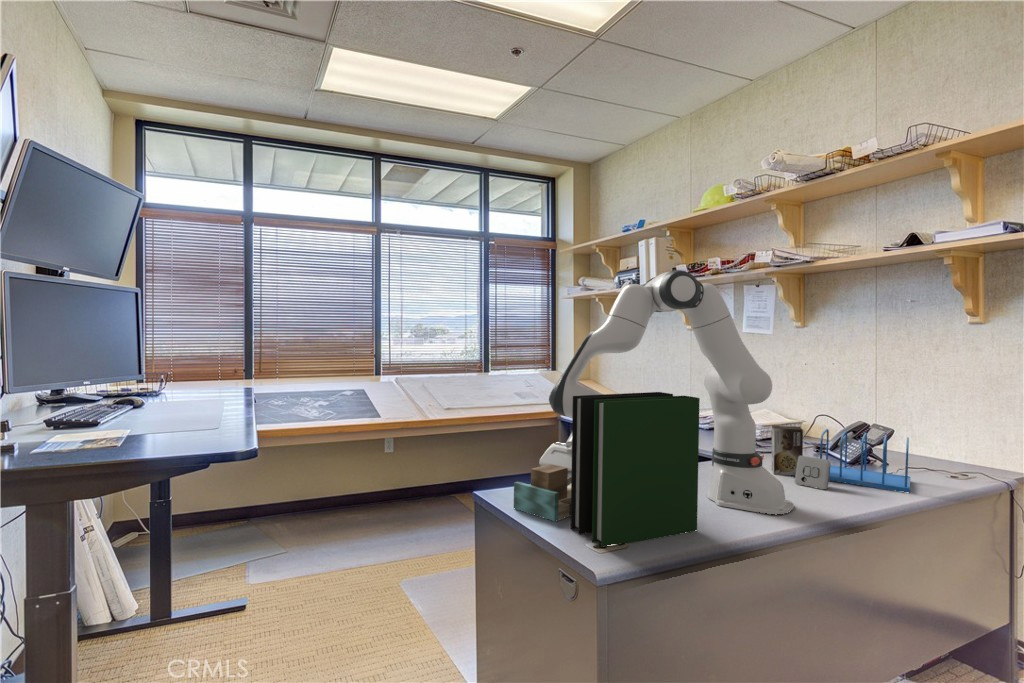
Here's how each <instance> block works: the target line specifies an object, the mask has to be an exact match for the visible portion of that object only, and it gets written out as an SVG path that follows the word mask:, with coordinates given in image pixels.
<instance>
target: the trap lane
mask: <svg viewBox="0 0 1024 683" xmlns="http://www.w3.org/2000/svg"><path fill="white" fill-rule="evenodd" d="M514 508H515V509H514ZM513 509H514V510H516V509H518V510H517V511H519V510H521V511H520V512H522V511H525V512H528V513H527V514H529V513H531V514H530V515H532V514H535V515H538V516H541V517H544V518H547V519H550V520H549V521H551V520H553V521H552V522H554V521H555V522H557V521H556V520H558V521H560V520H563V519H565V518H564V517H566V518H567V516H568V517H571V516H570V515H571V485H570V484H569V485H568V486H567V498H565V499H562V500H559V492H555V491H551V490H548V489H544V488H540V487H536V486H533V485H531V484H528V483H525V482H522V481H515V482H513ZM525 512H524V513H525ZM535 515H534V516H535ZM538 516H537V517H538ZM541 517H540V518H541ZM544 518H543V519H544ZM562 518H563V519H562ZM547 519H546V520H547ZM559 519H560V520H559Z"/></svg>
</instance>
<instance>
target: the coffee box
mask: <svg viewBox="0 0 1024 683" xmlns="http://www.w3.org/2000/svg"><path fill="white" fill-rule="evenodd" d="M803 439H804V429H803V428H802V427H801V426H797V425H796V426H794V425H793V426H792V425H775V424H772V425H771V465H770V466H771V468H770V469H771V473H772V475H778V474H779V475H778V476H791V475H794V477H796V469H797V462H798V457H799V456H804V454H803V451H804V448H803V447H804V446H803V445H804V442H803V441H804V440H803Z"/></svg>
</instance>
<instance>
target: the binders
mask: <svg viewBox="0 0 1024 683" xmlns="http://www.w3.org/2000/svg"><path fill="white" fill-rule="evenodd" d="M602 394H603V395H581V396H573V417H572V418H571V419H572V423H571V424H572V426H571V428H572V429H571V430H572V431H571V433H572V477H571V484H570V486H571V516H570V530H571V529H572V530H575V528H577V529H578V530H577V531H578V532H577V534H578V535H583V533H584V534H589V533H591V543H593V542H594V543H599V542H600V548H601V547H603V546H607V545H611V544H619V543H627V544H632V543H638V542H644V541H649V539H650V540H655V539H654V538H656V539H660V538H659V537H661V538H665V537H664V536H667V537H670V536H669V535H673V536H676V534H678V535H681V534H680V533H684V534H686V533H685V532H690V531H695V530H697V531H698V508H699V507H698V500H699V499H698V498H699V497H698V496H699V449H700V448H699V447H700V446H699V445H700V443H699V442H700V402H701V401H700V400H701V399H700V397H698V396H697V397H695V396H688V395H674V394H673V393H670V392H661V391H653V392H652V391H650V392H648V391H647V392H628V393H609V394H608V393H607V394H604V393H602ZM695 532H696V531H695ZM690 533H691V532H690ZM598 541H599V542H598Z"/></svg>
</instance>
